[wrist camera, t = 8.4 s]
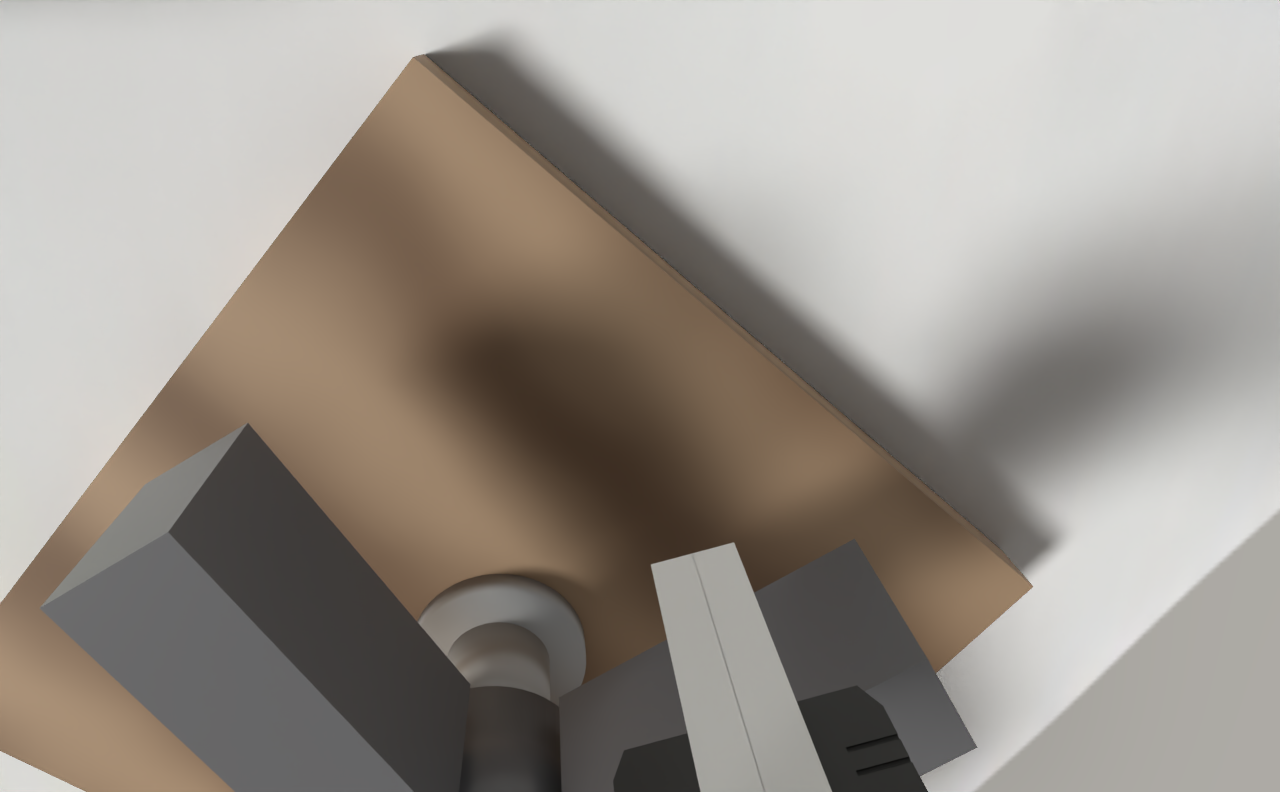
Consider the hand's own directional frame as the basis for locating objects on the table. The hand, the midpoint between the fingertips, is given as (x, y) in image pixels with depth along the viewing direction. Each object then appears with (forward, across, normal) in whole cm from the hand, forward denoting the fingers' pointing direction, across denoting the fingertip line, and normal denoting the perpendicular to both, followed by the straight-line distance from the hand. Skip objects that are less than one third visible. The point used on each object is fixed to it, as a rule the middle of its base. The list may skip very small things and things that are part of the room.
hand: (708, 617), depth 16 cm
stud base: (+10, -6, -5) cm, 13 cm away
